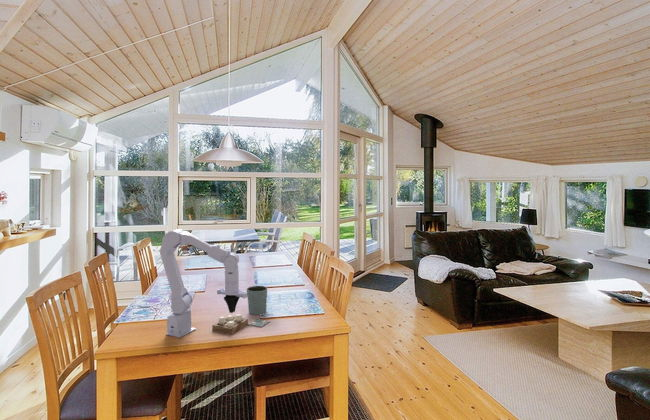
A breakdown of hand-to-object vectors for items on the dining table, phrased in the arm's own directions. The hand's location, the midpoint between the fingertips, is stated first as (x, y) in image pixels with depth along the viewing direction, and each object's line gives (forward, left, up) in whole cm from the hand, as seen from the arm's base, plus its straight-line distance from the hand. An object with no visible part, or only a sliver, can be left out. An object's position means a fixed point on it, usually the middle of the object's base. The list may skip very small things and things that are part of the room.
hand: (232, 312), depth 155 cm
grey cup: (+23, +3, -8) cm, 25 cm away
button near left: (-1, +5, -6) cm, 8 cm away
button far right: (+5, 0, -6) cm, 8 cm away
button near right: (-1, 0, -7) cm, 7 cm away
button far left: (+5, +5, -7) cm, 10 cm away
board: (+2, +3, -8) cm, 9 cm away
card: (+11, -6, -8) cm, 15 cm away
